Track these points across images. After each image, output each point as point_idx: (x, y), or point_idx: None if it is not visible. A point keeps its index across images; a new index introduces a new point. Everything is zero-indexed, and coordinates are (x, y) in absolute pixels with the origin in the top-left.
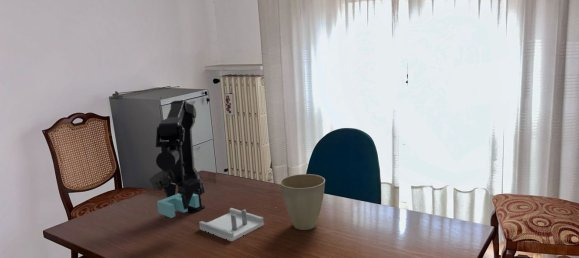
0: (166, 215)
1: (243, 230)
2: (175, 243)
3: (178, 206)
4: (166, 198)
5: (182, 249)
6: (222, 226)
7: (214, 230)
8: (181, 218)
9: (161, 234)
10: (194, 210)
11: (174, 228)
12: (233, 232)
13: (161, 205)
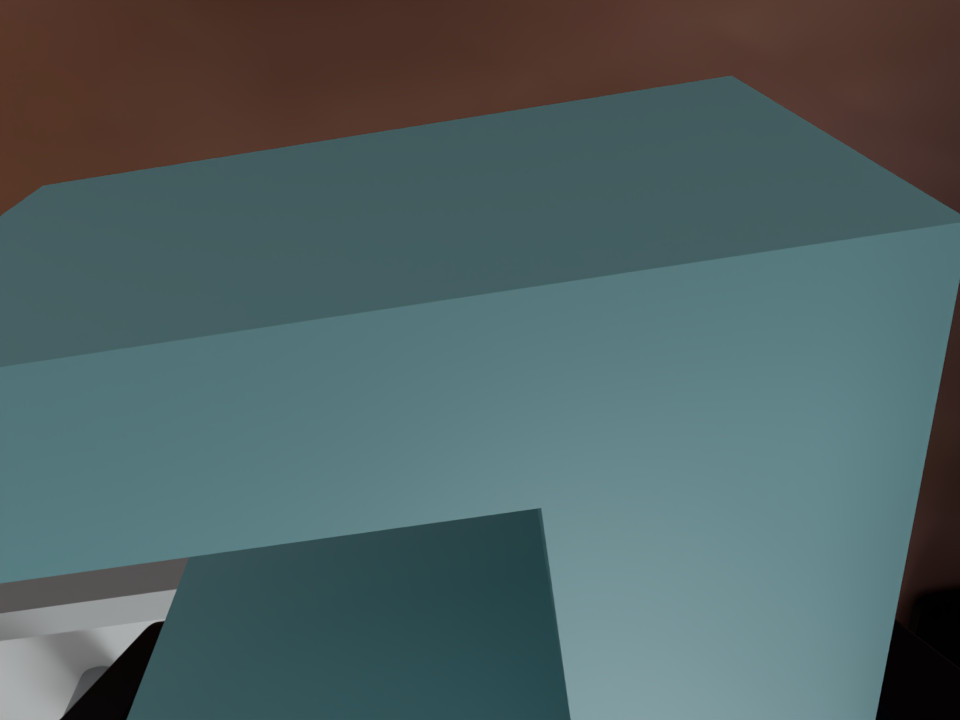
0: (284, 154)
1: (25, 716)
2: (305, 85)
3: (376, 599)
4: (835, 639)
5: (37, 66)
6: None
7: (182, 560)
8: (924, 473)
9: (759, 75)
10: (925, 635)
11: None
12: (35, 650)
13: (523, 227)
